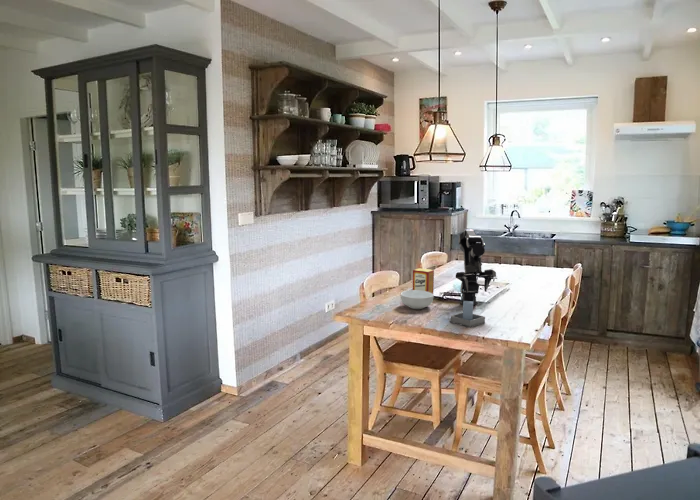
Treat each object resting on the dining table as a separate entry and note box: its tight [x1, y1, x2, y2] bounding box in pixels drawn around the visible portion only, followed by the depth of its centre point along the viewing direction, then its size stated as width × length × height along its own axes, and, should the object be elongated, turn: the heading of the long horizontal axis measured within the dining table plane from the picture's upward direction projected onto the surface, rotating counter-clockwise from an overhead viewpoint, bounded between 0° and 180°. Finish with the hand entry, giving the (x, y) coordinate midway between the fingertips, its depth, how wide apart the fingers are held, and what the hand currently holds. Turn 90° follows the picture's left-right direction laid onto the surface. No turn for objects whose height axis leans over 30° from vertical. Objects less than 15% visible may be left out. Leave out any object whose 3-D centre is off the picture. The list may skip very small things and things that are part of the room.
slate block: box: [462, 301, 474, 321], centre depth 245 cm, size 4×4×9 cm
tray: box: [449, 312, 486, 328], centre depth 246 cm, size 11×11×3 cm
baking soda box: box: [412, 267, 435, 295], centre depth 291 cm, size 10×6×16 cm
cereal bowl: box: [400, 289, 434, 310], centre depth 273 cm, size 17×17×7 cm
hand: (476, 292), depth 256 cm, fingers open, 9 cm apart
